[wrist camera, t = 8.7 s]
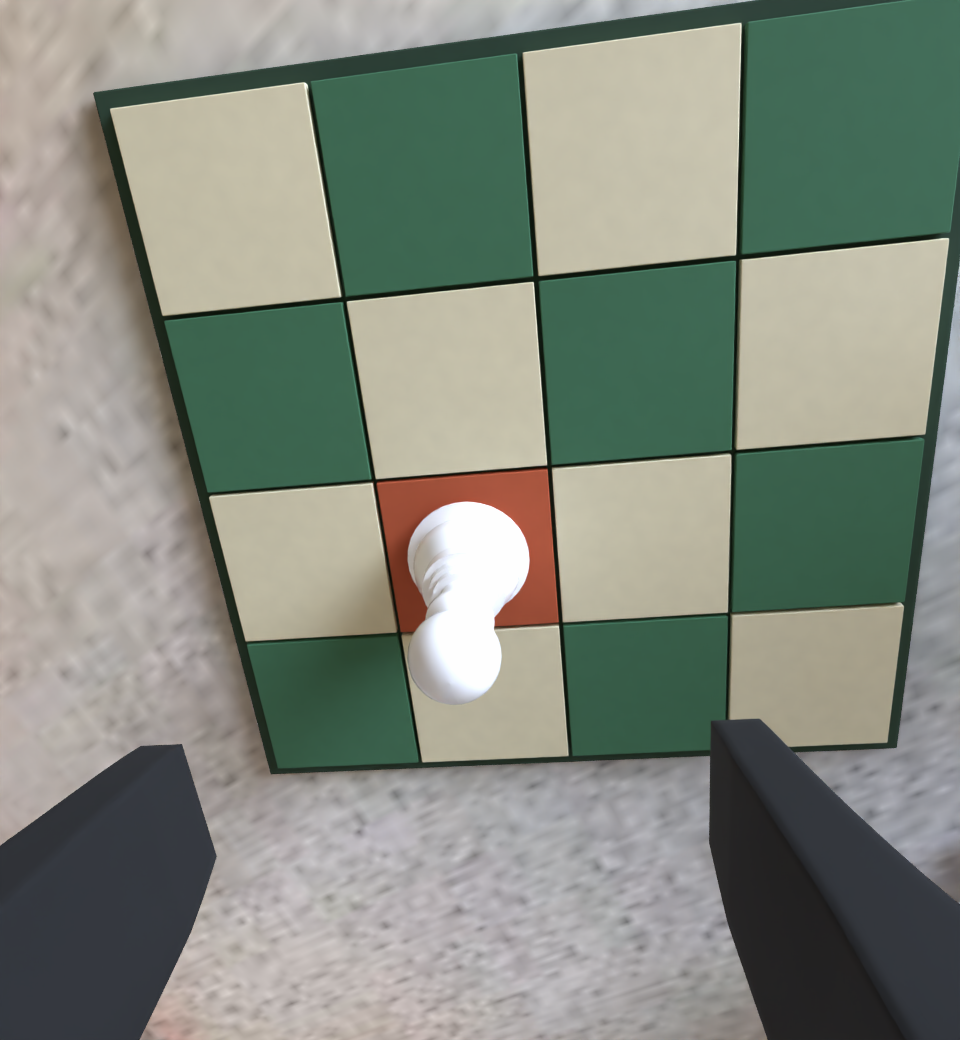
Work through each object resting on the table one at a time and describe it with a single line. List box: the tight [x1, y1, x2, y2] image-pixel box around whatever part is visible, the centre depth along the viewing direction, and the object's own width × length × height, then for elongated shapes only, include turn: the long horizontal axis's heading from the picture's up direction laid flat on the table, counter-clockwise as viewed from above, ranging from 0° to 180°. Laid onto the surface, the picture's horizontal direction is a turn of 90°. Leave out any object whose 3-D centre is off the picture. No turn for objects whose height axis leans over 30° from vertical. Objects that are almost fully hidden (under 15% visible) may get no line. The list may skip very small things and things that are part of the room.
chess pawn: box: [407, 502, 529, 705], centre depth 15 cm, size 3×3×5 cm
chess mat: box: [93, 0, 960, 774], centre depth 16 cm, size 17×17×1 cm
